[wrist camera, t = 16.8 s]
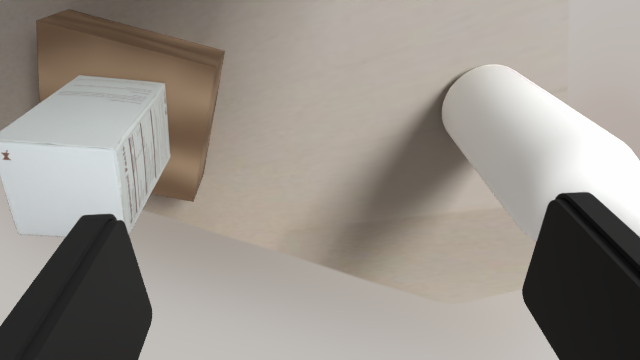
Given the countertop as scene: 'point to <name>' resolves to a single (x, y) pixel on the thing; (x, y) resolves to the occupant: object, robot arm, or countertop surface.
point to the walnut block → (144, 65)
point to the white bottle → (537, 148)
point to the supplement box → (85, 154)
